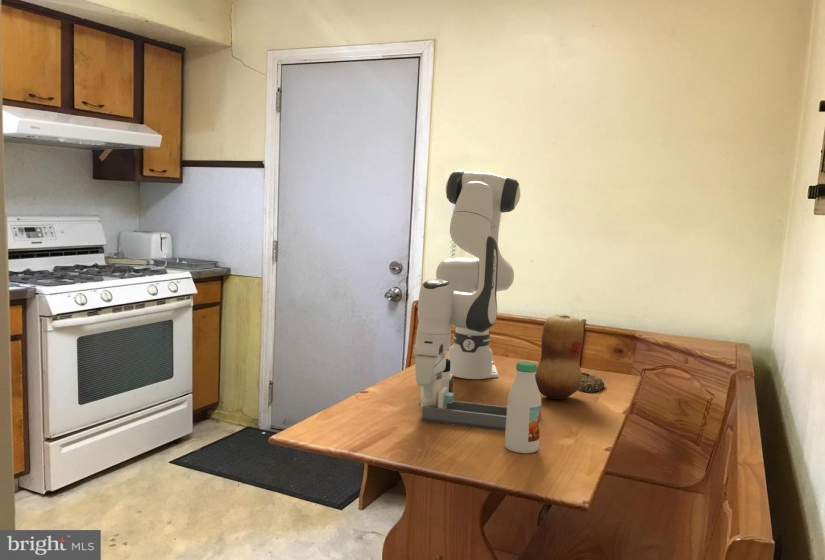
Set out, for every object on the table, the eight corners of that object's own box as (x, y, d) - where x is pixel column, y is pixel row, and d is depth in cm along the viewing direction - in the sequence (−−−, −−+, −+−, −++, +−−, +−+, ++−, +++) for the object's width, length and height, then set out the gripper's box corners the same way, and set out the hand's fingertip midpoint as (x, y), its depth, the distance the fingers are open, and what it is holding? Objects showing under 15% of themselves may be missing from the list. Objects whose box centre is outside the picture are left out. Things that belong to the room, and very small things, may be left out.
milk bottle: (516, 456, 143) (521, 368, 141) (498, 444, 150) (503, 360, 148) (545, 452, 146) (550, 366, 144) (526, 440, 153) (531, 358, 151)
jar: (422, 402, 171) (424, 369, 170) (442, 404, 170) (443, 371, 169) (417, 407, 166) (419, 373, 165) (438, 410, 165) (439, 376, 164)
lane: (429, 410, 173) (430, 381, 172) (519, 421, 167) (521, 391, 166) (422, 421, 164) (423, 390, 163) (516, 432, 159) (518, 400, 158)
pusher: (442, 409, 171) (443, 386, 170) (454, 411, 170) (455, 387, 169) (437, 416, 165) (438, 392, 164) (449, 417, 164) (451, 393, 163)
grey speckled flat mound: (609, 388, 206) (610, 373, 206) (592, 395, 197) (593, 379, 196) (572, 380, 215) (573, 365, 214) (554, 386, 205) (555, 371, 205)
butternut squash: (560, 407, 181) (566, 320, 179) (524, 396, 191) (529, 313, 189) (590, 400, 190) (596, 317, 188) (553, 389, 200) (558, 310, 198)
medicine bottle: (448, 404, 180) (450, 362, 179) (423, 401, 181) (425, 360, 180) (452, 397, 187) (454, 357, 186) (428, 395, 188) (430, 355, 187)
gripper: (430, 334, 177) (428, 383, 179) (411, 348, 157) (409, 403, 159) (452, 336, 176) (450, 385, 177) (436, 351, 156) (434, 406, 157)
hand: (430, 394), depth 168 cm, fingers closed on jar, 5 cm apart
